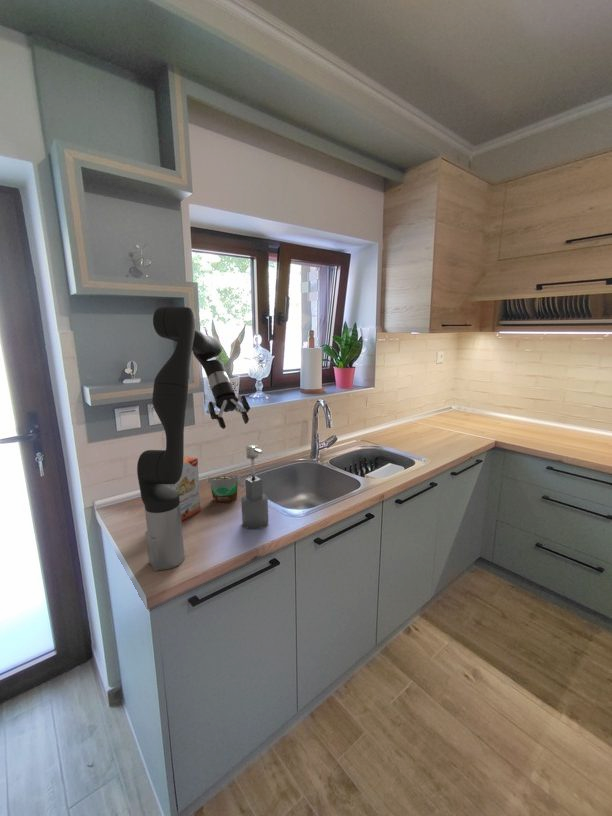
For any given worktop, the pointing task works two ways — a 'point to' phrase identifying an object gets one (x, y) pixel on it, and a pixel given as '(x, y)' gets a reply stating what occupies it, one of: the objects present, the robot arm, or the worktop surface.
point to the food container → (224, 488)
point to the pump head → (253, 456)
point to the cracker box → (188, 488)
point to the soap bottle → (254, 505)
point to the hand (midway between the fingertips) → (235, 425)
